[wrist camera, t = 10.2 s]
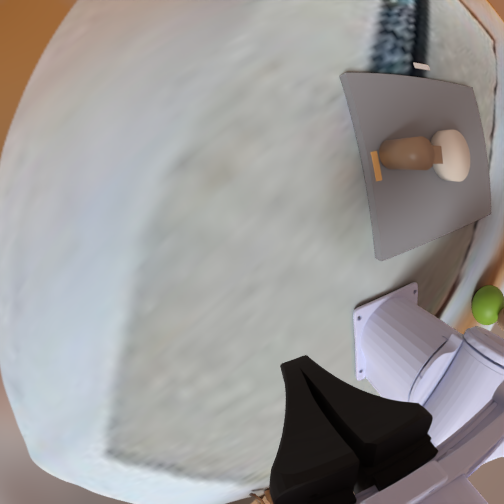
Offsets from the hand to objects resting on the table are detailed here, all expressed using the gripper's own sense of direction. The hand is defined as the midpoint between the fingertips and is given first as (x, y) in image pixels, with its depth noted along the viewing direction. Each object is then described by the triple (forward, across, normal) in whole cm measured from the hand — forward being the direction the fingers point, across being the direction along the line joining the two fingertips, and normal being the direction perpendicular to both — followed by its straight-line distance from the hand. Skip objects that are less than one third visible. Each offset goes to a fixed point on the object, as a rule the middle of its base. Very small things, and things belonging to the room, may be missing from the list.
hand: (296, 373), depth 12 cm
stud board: (+9, -21, -8) cm, 24 cm away
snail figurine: (+10, -29, +12) cm, 33 cm away
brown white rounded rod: (+8, -18, -8) cm, 21 cm away
